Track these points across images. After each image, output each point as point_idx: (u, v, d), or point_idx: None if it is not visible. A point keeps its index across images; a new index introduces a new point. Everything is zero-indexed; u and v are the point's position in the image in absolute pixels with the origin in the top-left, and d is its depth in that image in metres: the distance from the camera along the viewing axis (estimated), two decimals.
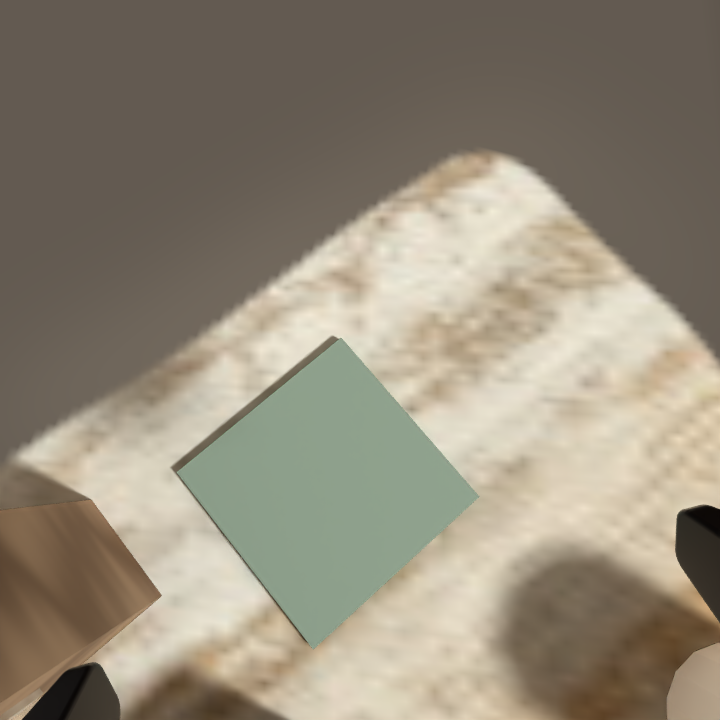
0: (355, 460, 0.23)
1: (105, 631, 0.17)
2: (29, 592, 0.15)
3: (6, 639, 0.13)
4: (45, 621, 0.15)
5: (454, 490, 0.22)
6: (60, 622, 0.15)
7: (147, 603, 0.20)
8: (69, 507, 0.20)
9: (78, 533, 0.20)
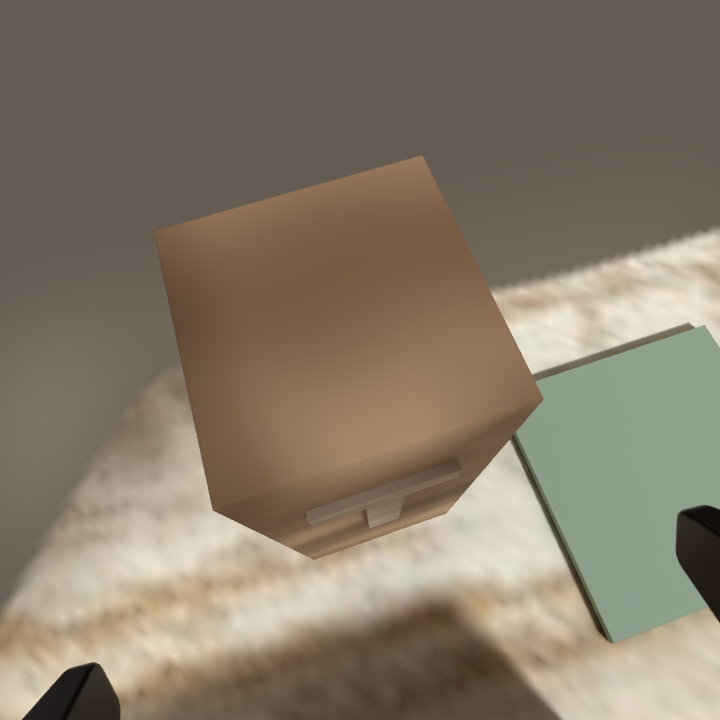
0: (701, 453, 0.19)
1: (466, 487, 0.15)
2: None
3: None
4: None
5: None
6: None
7: (450, 505, 0.18)
8: None
9: None
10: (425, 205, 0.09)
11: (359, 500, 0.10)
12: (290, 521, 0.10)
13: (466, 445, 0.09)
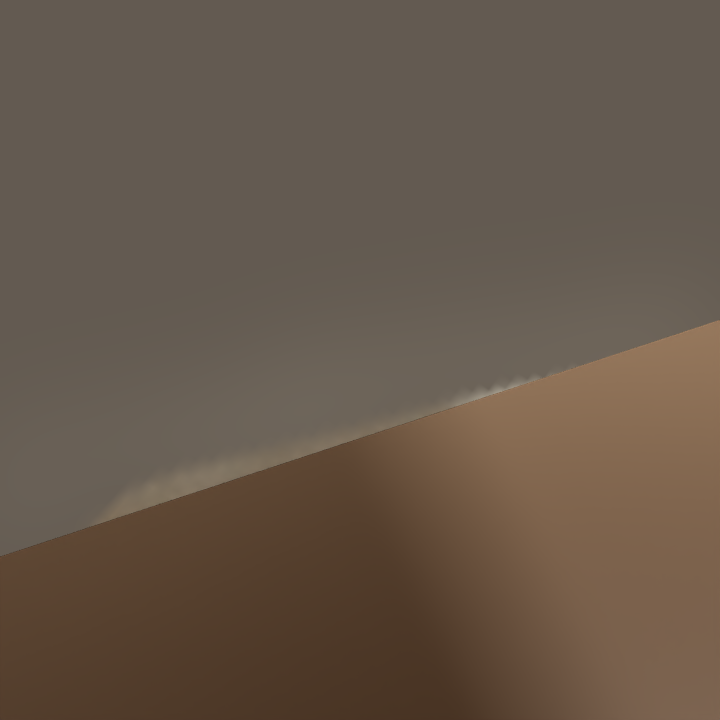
0: None
1: None
2: None
3: None
4: None
5: None
6: None
7: None
8: None
9: None
10: None
11: None
12: None
13: None
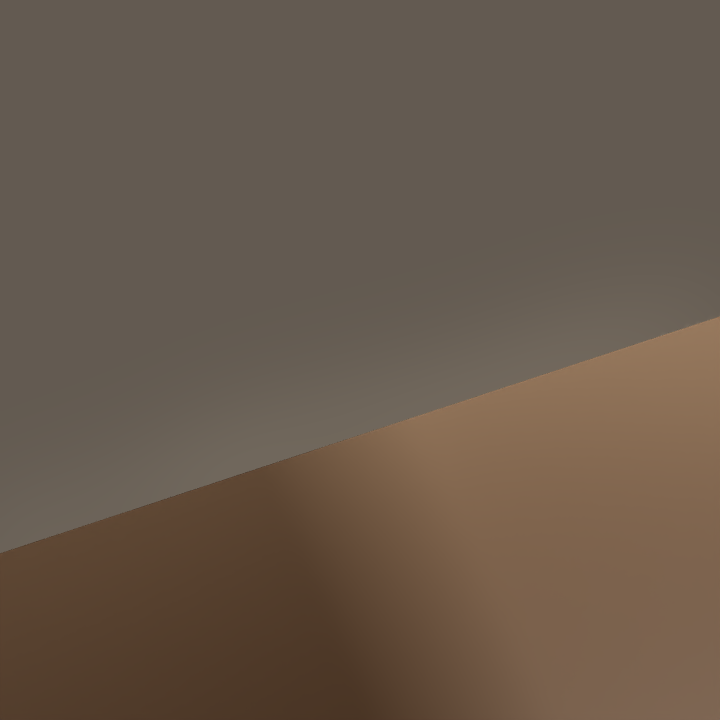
0: None
1: None
2: None
3: None
4: None
5: None
6: None
7: None
8: None
9: None
10: None
11: None
12: None
13: None
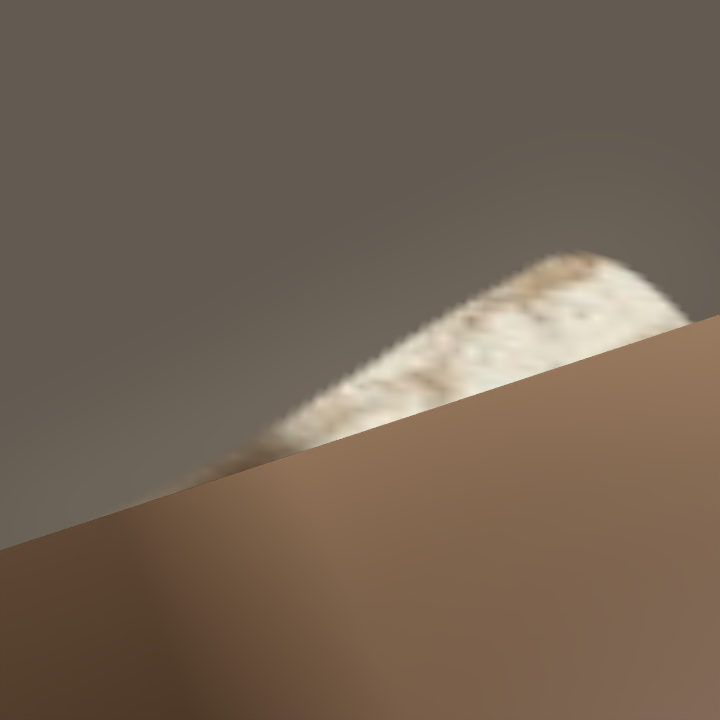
0: None
1: None
2: None
3: None
4: None
5: None
6: None
7: None
8: None
9: None
10: None
11: None
12: None
13: None
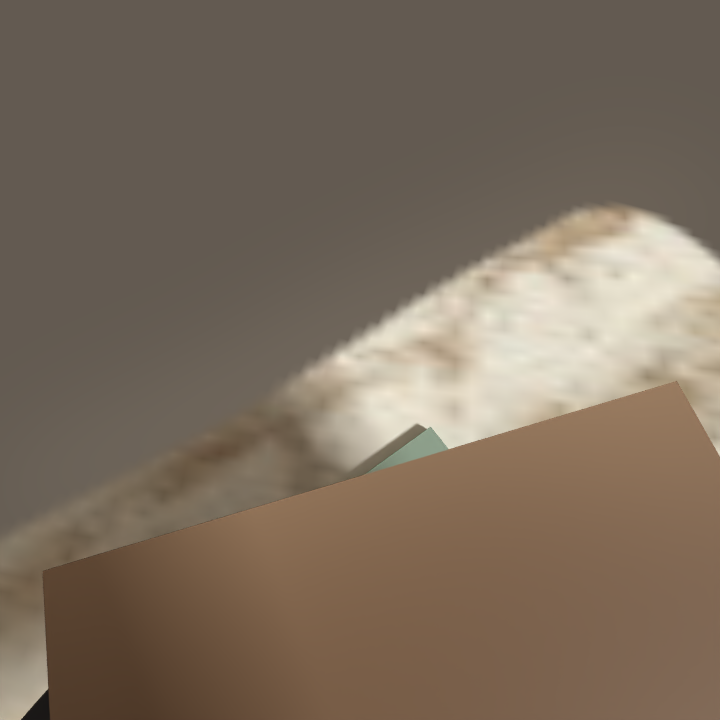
0: None
1: None
2: None
3: None
4: None
5: None
6: None
7: None
8: None
9: None
10: (709, 531, 0.04)
11: None
12: None
13: None
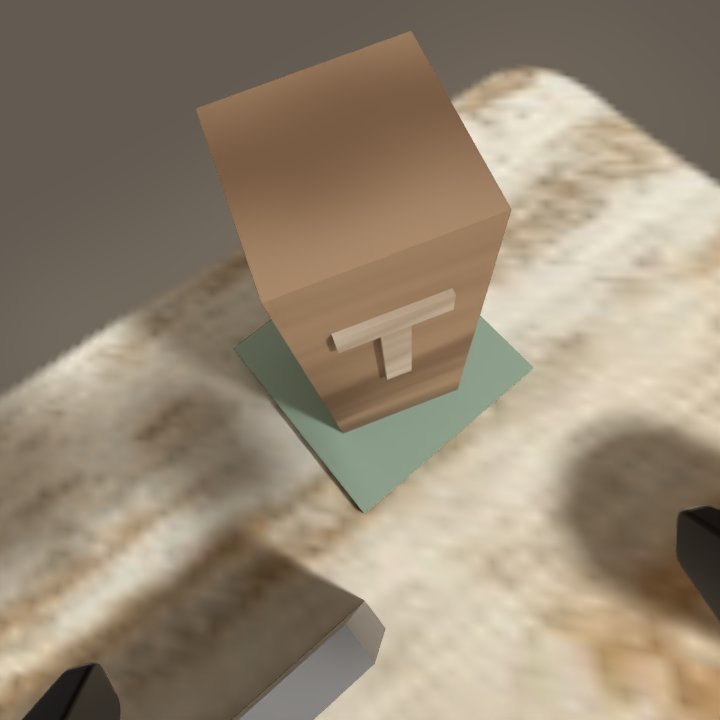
0: None
1: (469, 345, 0.17)
2: None
3: None
4: None
5: (506, 361, 0.22)
6: None
7: (460, 377, 0.20)
8: None
9: None
10: (414, 71, 0.11)
11: (374, 323, 0.12)
12: (320, 347, 0.13)
13: (456, 266, 0.11)
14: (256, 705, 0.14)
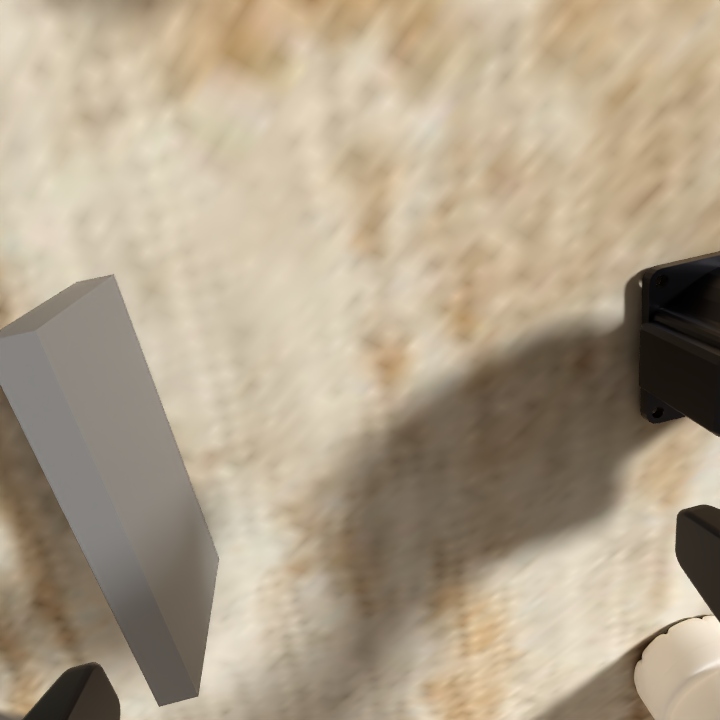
0: None
1: None
2: None
3: None
4: None
5: None
6: None
7: None
8: None
9: None
10: None
11: None
12: None
13: None
14: (37, 458, 0.13)
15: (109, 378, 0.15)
